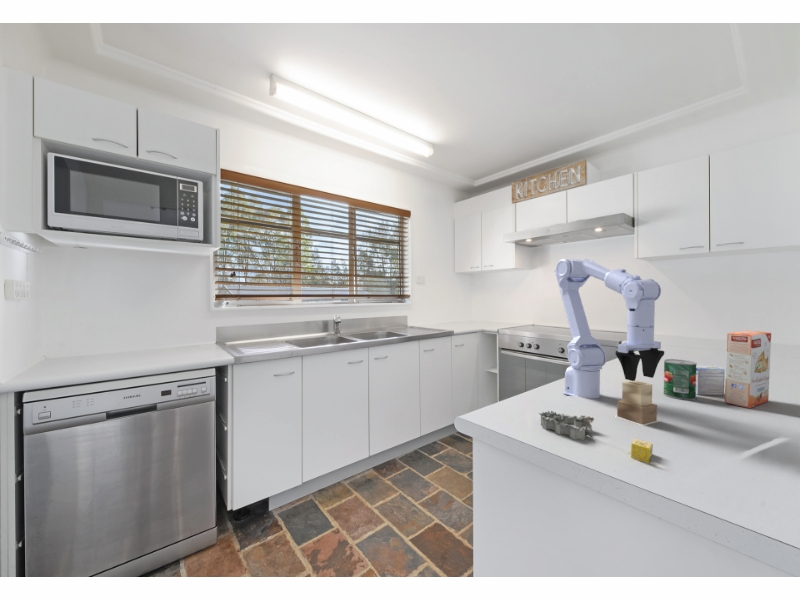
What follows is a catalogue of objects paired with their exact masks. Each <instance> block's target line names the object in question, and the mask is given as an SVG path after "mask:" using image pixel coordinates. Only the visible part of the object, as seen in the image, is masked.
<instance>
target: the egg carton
mask: <svg viewBox="0 0 800 600" xmlns="http://www.w3.org/2000/svg"><path fill="white" fill-rule="evenodd" d="M538 414H539V415H540V426H541V427H542V429H544V430H553V431H555V433H556V434H558V435H568V436H569V438H570V439H573V440H582V441H583V440H585V439H586V436H587V437H588V436H589V437H591V435H590V434H591V433H592V432H593V427H592V423H593V422H594V420H595V418H594V417H591V416H590V415H589V416H588V415H580V417H579V416H578V415H572V416H571V415H569V414H565V413H564V414H563V413H557V412H556V411H554V410H553V411H552V410H551V411H550V410H547V411H542V412H541V413H540V412H538ZM569 424H572V425H569ZM573 425H574V426H573ZM587 433H589V434H587Z"/></svg>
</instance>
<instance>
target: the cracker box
mask: <svg viewBox="0 0 800 600" xmlns="http://www.w3.org/2000/svg"><path fill="white" fill-rule="evenodd" d="M771 345H772V332H768V331H767V332H766V331H755V330H743V331H742V330H741V331H734V332H727V333H726V351H725V353H726V354H725V381H724V403H726V404H729V405H734V406H738V407H742V408H746V409H751V408H754V407H756V406H759V405H762V404H765V403H767V402H769V396H770V395H769V393H770V392H769V391H770V374H771V373H770V370H771Z"/></svg>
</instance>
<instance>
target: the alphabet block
mask: <svg viewBox="0 0 800 600" xmlns="http://www.w3.org/2000/svg"><path fill="white" fill-rule="evenodd" d="M630 445H631V446H630V448H631V449H630V458H631V459H634V460H637V461H641V462H645V463H647V464H649V463H650V462H651V457H652V455H653V446H654V445H653V443H652V442H648V441H645V440H641V439H638V438H634V439H633V441H632V443H631V444H630Z"/></svg>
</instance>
